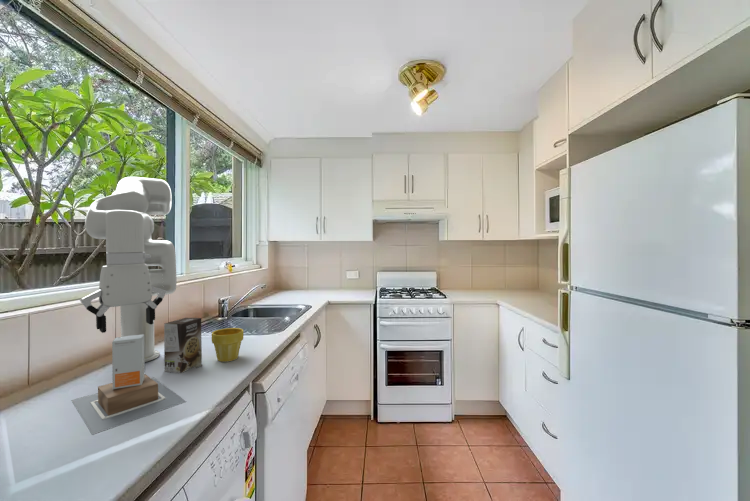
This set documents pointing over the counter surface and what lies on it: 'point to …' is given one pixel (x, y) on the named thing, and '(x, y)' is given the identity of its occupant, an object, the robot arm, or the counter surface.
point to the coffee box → (182, 345)
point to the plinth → (127, 396)
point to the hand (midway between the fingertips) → (127, 327)
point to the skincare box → (128, 361)
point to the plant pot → (227, 343)
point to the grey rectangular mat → (101, 421)
